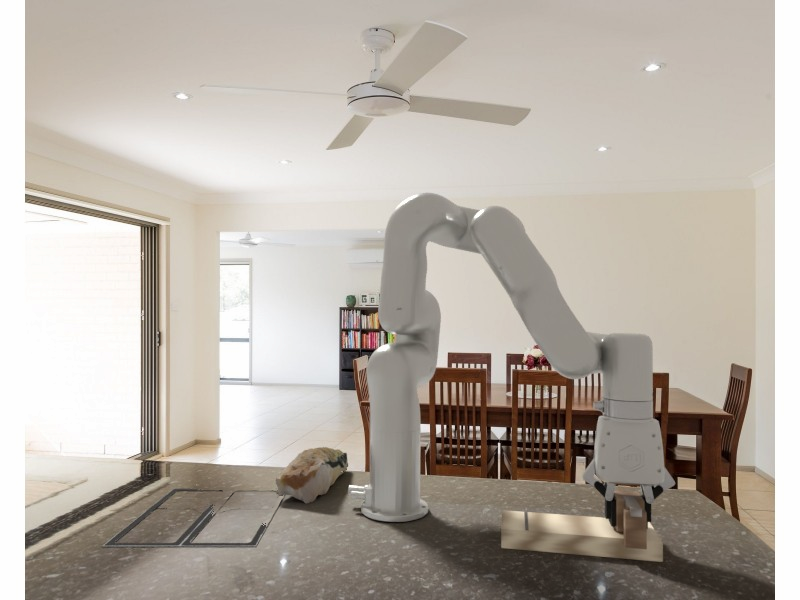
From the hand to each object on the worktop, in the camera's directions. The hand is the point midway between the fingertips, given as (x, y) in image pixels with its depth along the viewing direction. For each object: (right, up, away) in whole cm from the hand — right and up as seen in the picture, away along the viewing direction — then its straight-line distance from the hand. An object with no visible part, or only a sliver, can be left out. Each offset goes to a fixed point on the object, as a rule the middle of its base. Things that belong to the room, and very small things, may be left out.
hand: (627, 523), depth 91 cm
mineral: (-53, -5, +32) cm, 63 cm away
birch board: (-8, -4, +1) cm, 9 cm away
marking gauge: (0, -1, -2) cm, 2 cm away
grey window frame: (-72, -4, +13) cm, 73 cm away
